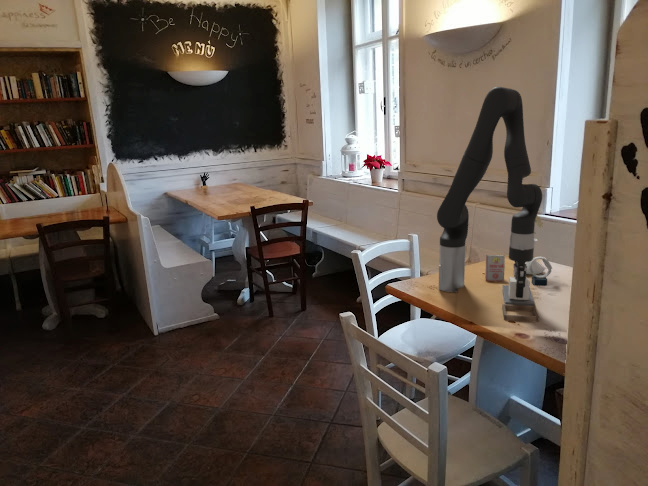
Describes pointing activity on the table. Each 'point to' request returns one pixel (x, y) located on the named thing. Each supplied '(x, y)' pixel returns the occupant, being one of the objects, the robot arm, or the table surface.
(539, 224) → the flower in vase
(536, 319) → the tray
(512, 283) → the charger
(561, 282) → the table surface
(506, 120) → the robot arm
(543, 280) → the watch
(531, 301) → the power strip
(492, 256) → the tea box
